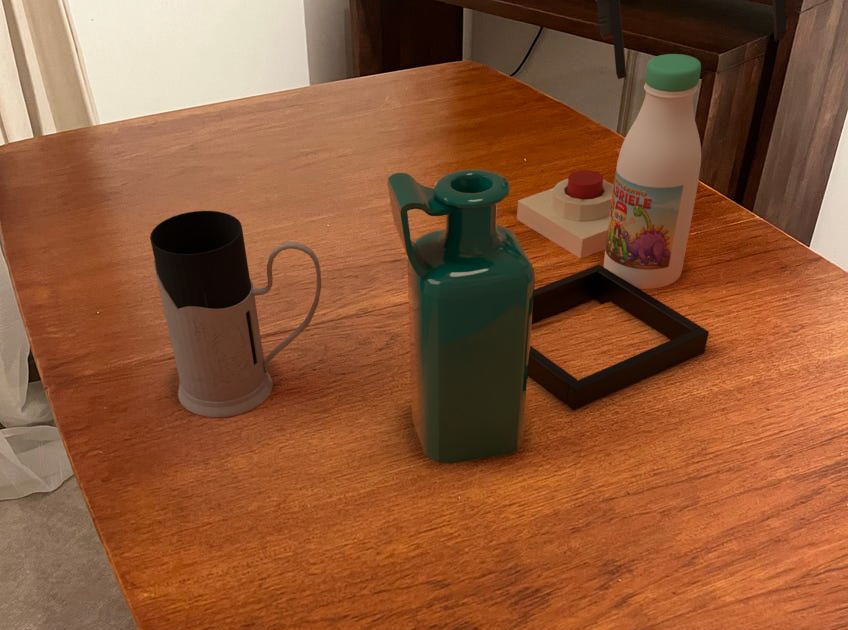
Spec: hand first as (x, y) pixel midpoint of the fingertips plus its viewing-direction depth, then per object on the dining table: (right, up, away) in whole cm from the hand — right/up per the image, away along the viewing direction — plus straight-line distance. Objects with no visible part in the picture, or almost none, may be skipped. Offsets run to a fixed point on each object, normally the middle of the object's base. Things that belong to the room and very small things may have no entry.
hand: (699, 57), depth 91 cm
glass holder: (-40, -29, +2) cm, 50 cm away
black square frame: (-10, -25, +3) cm, 27 cm away
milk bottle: (-2, -16, +11) cm, 20 cm away
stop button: (-7, -5, +16) cm, 18 cm away
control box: (-7, -7, +19) cm, 22 cm away
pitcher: (-22, -35, -4) cm, 42 cm away
